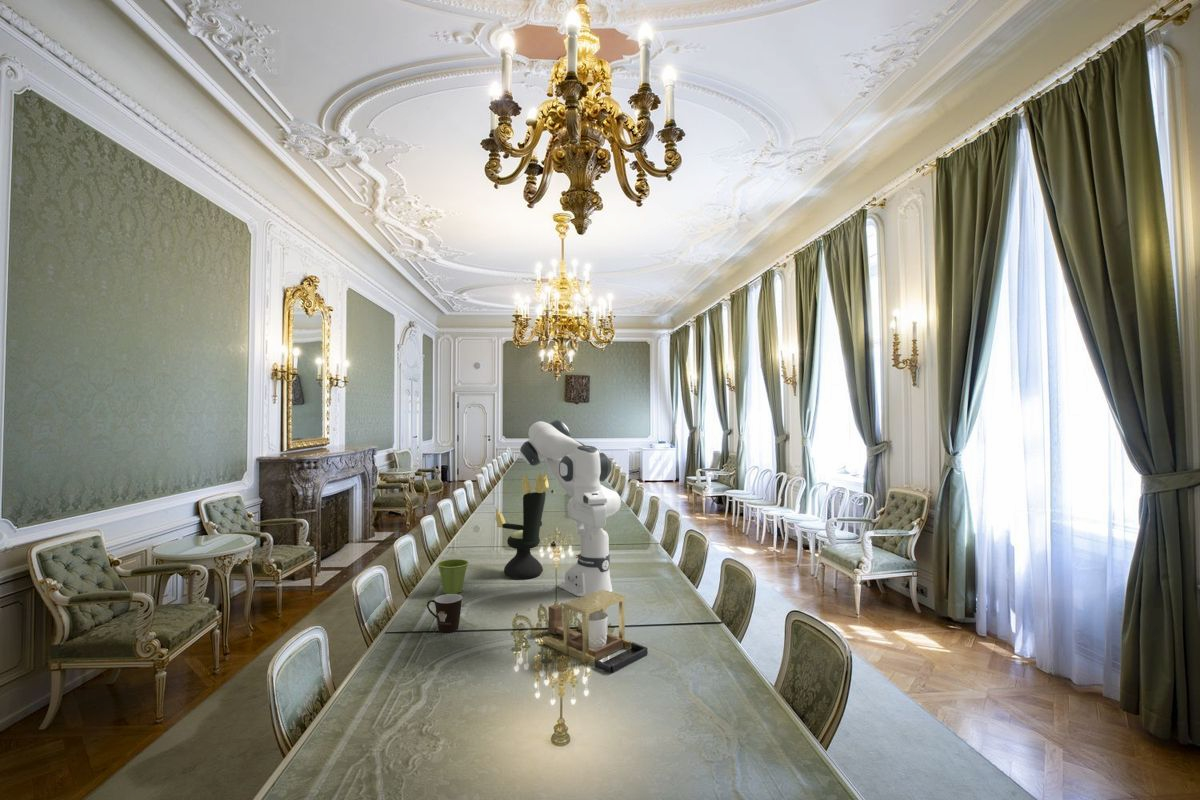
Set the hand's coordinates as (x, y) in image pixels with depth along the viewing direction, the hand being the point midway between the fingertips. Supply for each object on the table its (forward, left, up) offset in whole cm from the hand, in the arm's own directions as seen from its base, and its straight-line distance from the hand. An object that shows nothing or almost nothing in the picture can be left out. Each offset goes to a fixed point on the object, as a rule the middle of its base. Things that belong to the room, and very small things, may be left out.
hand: (587, 537), depth 184 cm
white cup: (+14, -11, -30) cm, 34 cm away
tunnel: (+14, -11, -29) cm, 34 cm away
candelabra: (-57, +22, -29) cm, 68 cm away
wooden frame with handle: (+7, -11, -29) cm, 32 cm away
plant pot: (-61, -12, -30) cm, 69 cm away
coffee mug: (-32, -33, -30) cm, 55 cm away
